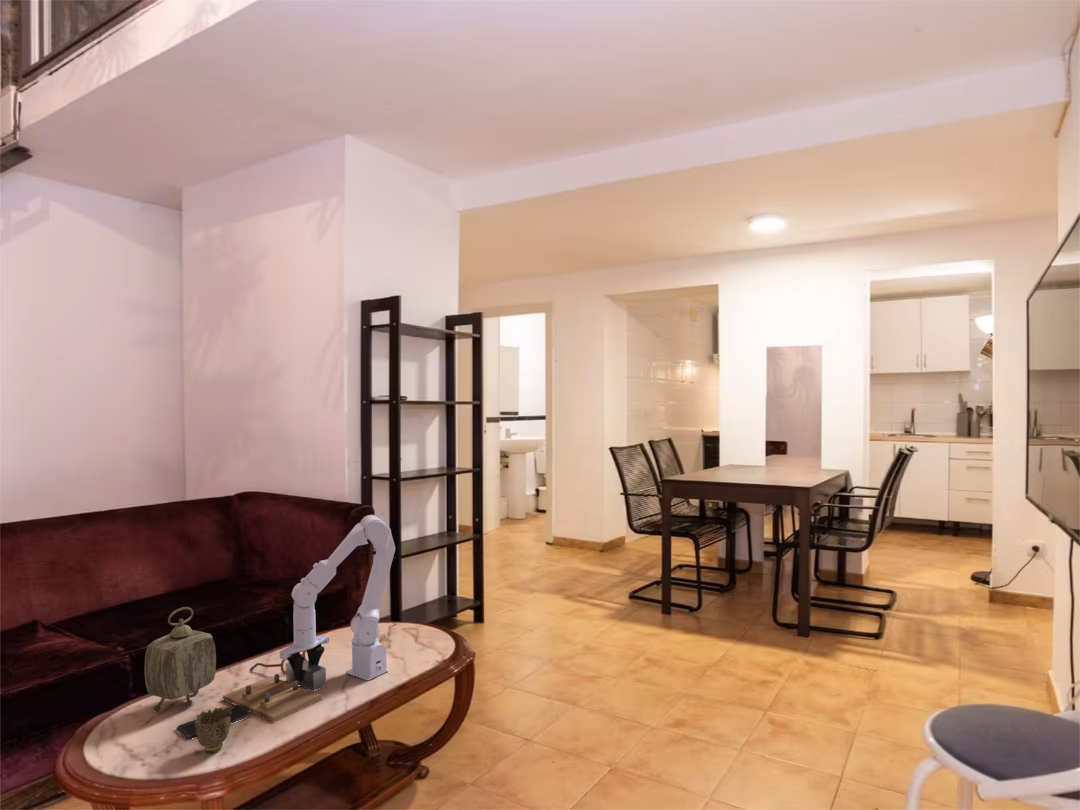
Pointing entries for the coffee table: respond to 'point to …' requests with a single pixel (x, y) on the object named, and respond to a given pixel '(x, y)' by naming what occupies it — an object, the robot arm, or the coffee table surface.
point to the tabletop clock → (179, 662)
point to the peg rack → (272, 698)
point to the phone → (236, 711)
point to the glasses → (277, 664)
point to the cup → (213, 728)
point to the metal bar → (308, 675)
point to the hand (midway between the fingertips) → (305, 676)
